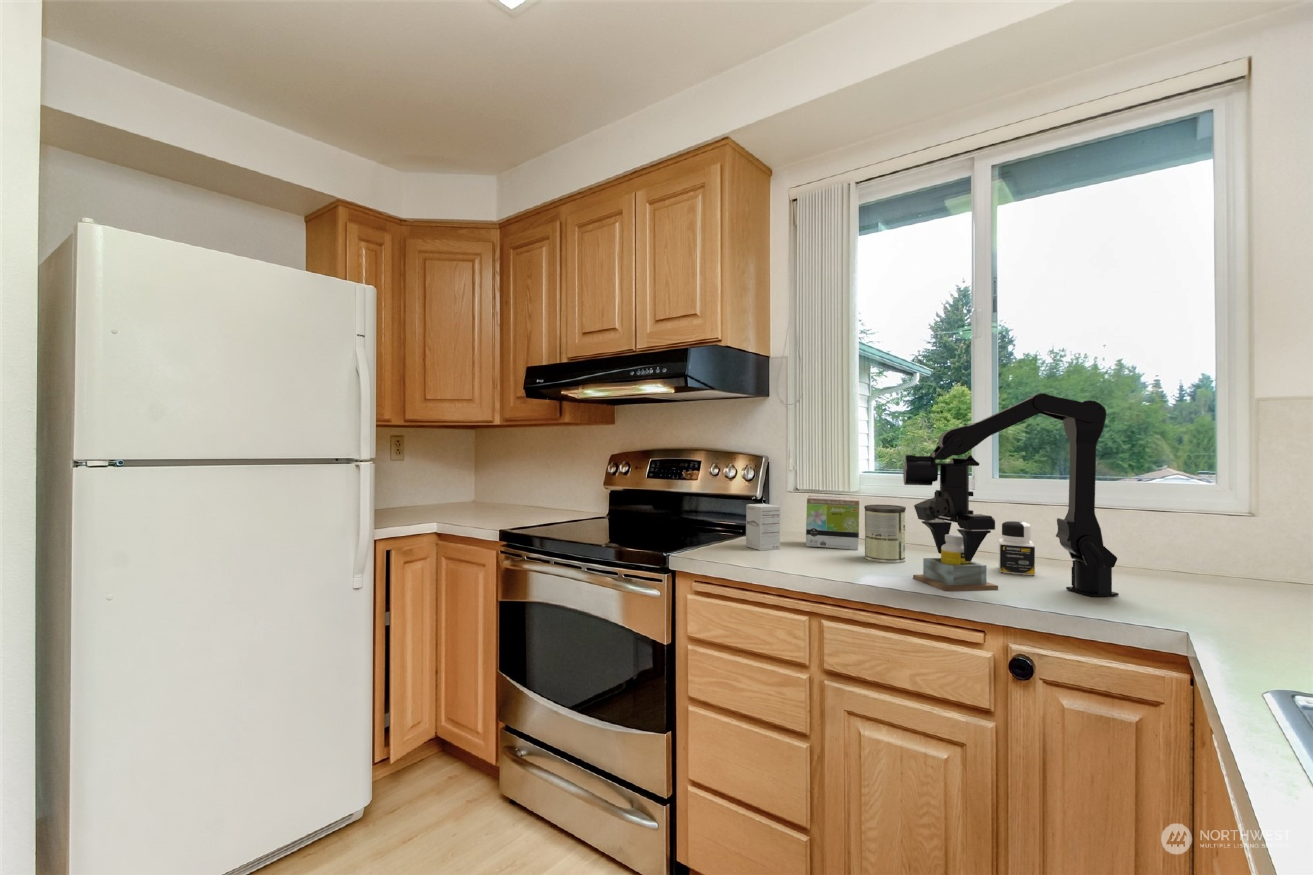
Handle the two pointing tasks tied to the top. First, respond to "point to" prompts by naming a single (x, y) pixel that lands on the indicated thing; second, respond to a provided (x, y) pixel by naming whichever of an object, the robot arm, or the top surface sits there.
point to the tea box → (832, 522)
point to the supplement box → (763, 526)
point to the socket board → (954, 576)
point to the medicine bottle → (1016, 549)
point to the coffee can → (885, 533)
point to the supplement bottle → (953, 550)
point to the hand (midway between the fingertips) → (954, 557)
